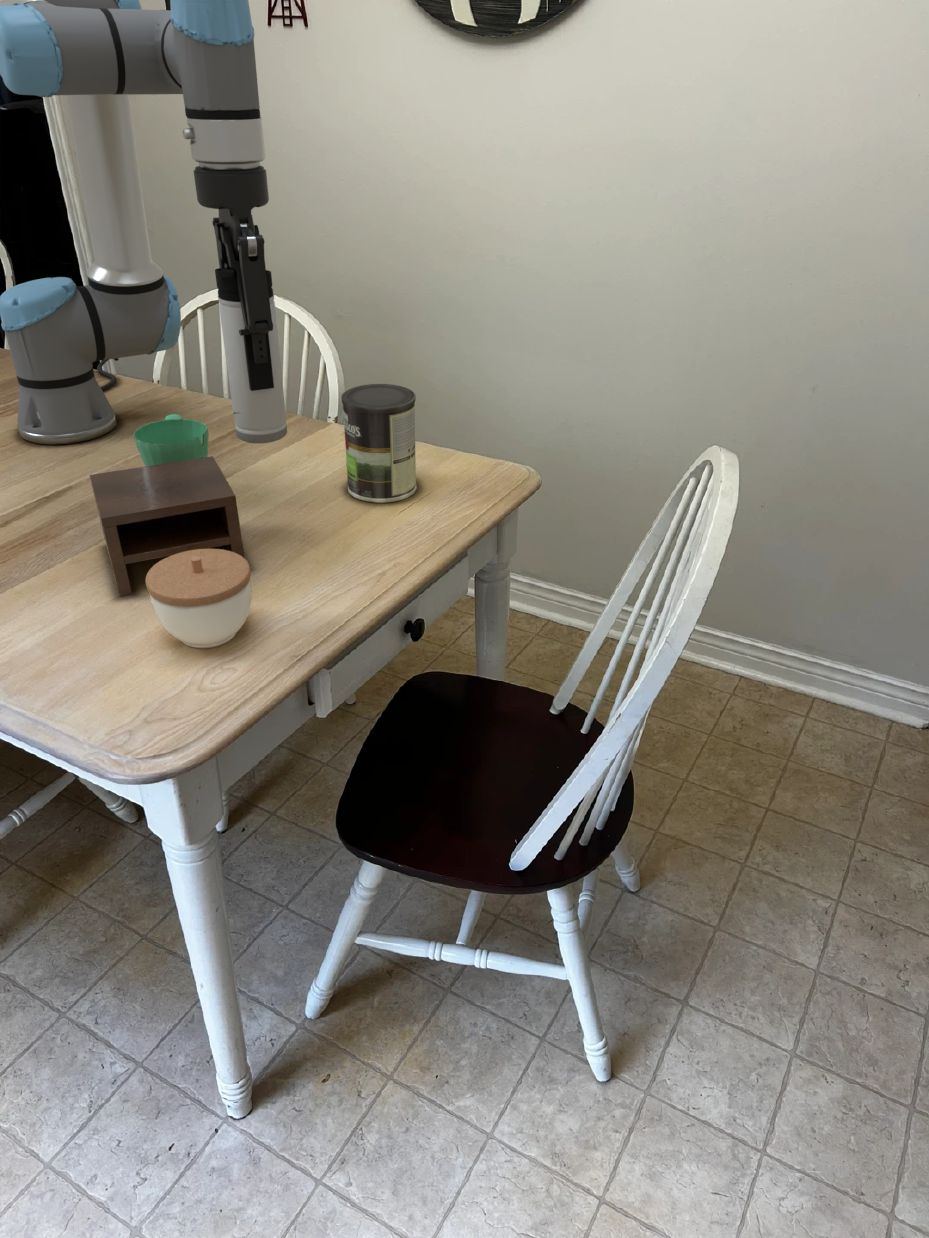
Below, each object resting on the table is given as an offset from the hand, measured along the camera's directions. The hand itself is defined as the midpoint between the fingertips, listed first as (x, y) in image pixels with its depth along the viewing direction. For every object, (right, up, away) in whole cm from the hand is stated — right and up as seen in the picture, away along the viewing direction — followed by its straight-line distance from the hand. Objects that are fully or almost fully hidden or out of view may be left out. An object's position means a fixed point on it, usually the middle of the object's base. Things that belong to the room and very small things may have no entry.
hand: (254, 379), depth 105 cm
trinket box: (-3, -31, -8) cm, 32 cm away
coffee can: (+13, -10, +24) cm, 29 cm away
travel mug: (0, -6, +4) cm, 7 cm away
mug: (-16, -10, +23) cm, 30 cm away
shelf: (-11, -21, +5) cm, 25 cm away
